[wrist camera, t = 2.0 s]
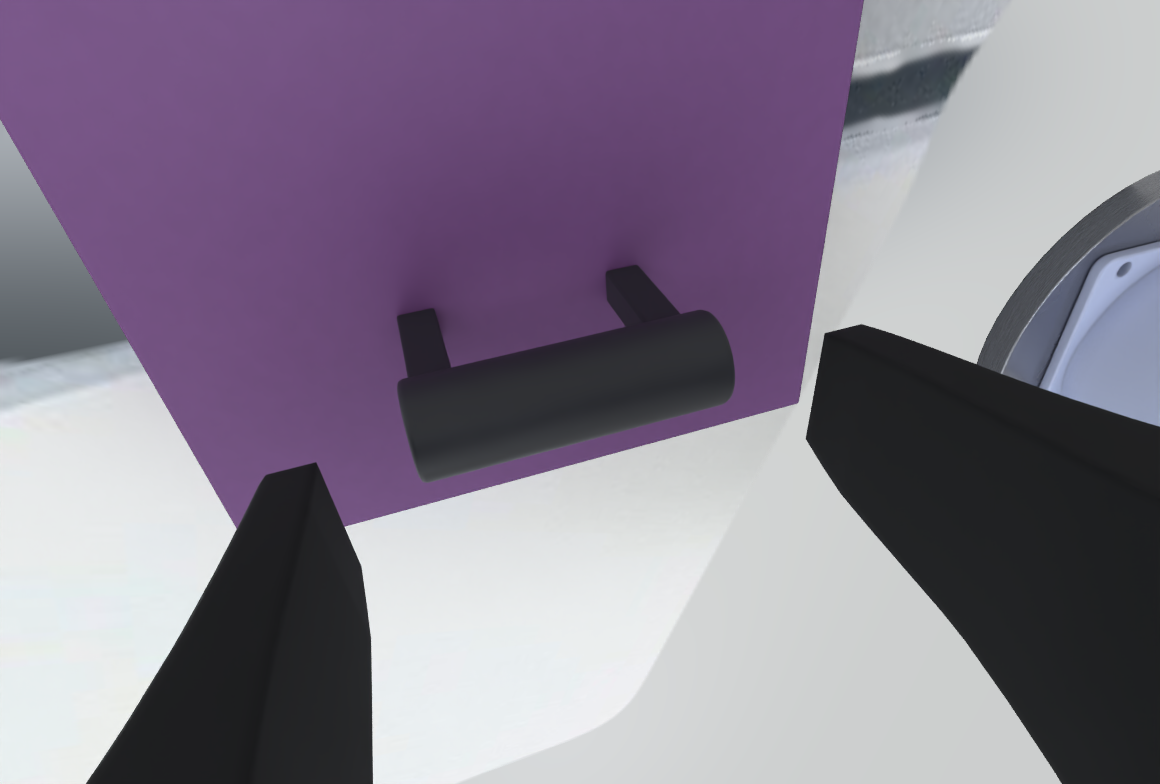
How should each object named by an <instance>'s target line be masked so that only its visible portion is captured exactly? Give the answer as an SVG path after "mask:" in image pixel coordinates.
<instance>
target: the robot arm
mask: <svg viewBox="0 0 1160 784" xmlns="http://www.w3.org/2000/svg"><path fill="white" fill-rule="evenodd" d="M806 440H807V442H808V443H809V445H810V447H811V448H812V450H813V451H814V453H815V455H816V456H817V458H818V460H819V461H820V463H821V464H822V466H823V467H824V469H825V471H826V472H827V474H828V475H829V477H830V478H831V480H832V481H833V483H834V484H835V486H836V487H837V489H838V490H839V491H840V493H841V494H842V496H843V497H844V498H845V499H846V500H847V502H848V503H849V504H850V505H851V507H852V508H853V509H854V510H855V511H856V512H857V514H858V515H859V516H860V517H861V518H862V520H863V521H864V522H865V523H866V524H867V526H868V527H869V528H870V529H871V530H872V531H873V533H874V534H875V535H876V536H877V537H878V538H879V539H880V541H881V542H882V543H883V544H884V545H885V546H886V548H887V549H888V550H889V551H890V552H891V553H892V555H893V556H894V557H895V558H896V559H897V560H898V562H899V563H900V564H901V565H902V566H903V567H904V568H905V570H906V571H907V572H908V573H909V574H910V575H911V576H912V578H913V579H914V580H915V581H916V582H917V583H918V585H919V586H920V587H921V588H922V589H923V590H924V592H925V593H926V594H927V595H928V596H929V597H930V599H931V600H932V601H933V602H934V603H935V604H936V605H937V607H938V608H939V609H940V610H941V611H942V612H943V614H944V615H945V616H946V617H947V619H948V620H949V621H950V622H951V624H952V625H953V626H954V627H955V629H956V630H957V631H958V632H959V634H960V635H961V636H962V637H963V639H964V640H965V641H966V643H967V644H968V645H969V647H970V648H971V650H972V651H973V653H974V654H975V655H976V657H977V658H978V660H979V661H980V662H981V664H982V665H983V667H984V668H985V670H986V671H987V672H988V674H989V675H990V677H991V678H992V679H993V681H994V682H995V684H996V685H997V686H998V688H999V689H1000V691H1001V692H1002V694H1003V695H1004V696H1005V698H1006V699H1007V701H1008V702H1009V704H1010V705H1011V707H1012V708H1013V710H1014V711H1015V713H1016V714H1017V716H1018V717H1019V719H1020V720H1021V722H1022V723H1023V725H1024V726H1025V728H1026V729H1027V731H1028V732H1029V734H1030V735H1031V737H1032V738H1033V740H1034V741H1035V743H1036V744H1037V746H1038V747H1039V749H1040V750H1041V752H1042V753H1043V755H1044V756H1045V758H1046V759H1047V761H1048V762H1049V764H1050V766H1051V767H1052V769H1053V770H1054V772H1055V773H1056V775H1057V777H1058V778H1059V780H1060V781H1061V783H1062V784H1160V241H1159V242H1155V243H1151V244H1147V245H1143V246H1139V247H1135V248H1131V249H1127V250H1123V251H1119V252H1115V253H1111V254H1108V255H1105V256H1103V257H1101V258H1100V259H1098V260H1097V261H1096V262H1095V263H1094V264H1093V266H1092V267H1091V269H1090V271H1089V273H1088V276H1087V278H1086V280H1085V283H1084V285H1083V287H1082V289H1081V292H1080V294H1079V296H1078V299H1077V301H1076V303H1075V306H1074V308H1073V310H1072V312H1071V315H1070V317H1069V319H1068V322H1067V324H1066V326H1065V329H1064V331H1063V333H1062V335H1061V338H1060V340H1059V342H1058V345H1057V347H1056V349H1055V352H1054V354H1053V356H1052V358H1051V361H1050V363H1049V365H1048V368H1047V370H1046V372H1045V375H1044V377H1043V379H1042V381H1041V384H1040V386H1039V387H1037V386H1034V385H1031V384H1028V383H1025V382H1023V381H1020V380H1017V379H1014V378H1012V377H1009V376H1006V375H1004V374H1001V373H998V372H995V371H993V370H990V369H987V368H985V367H982V366H979V365H977V364H974V363H971V362H969V361H966V360H963V359H961V358H958V357H955V356H952V355H950V354H947V353H944V352H942V351H939V350H936V349H934V348H931V347H928V346H926V345H923V344H920V343H917V342H915V341H912V340H909V339H906V338H903V337H901V336H897V335H895V334H892V333H888V332H886V331H882V330H879V329H876V328H873V327H869V326H866V325H856V326H852V327H849V328H845V329H841V330H837V331H833V332H829V333H825V335H824V340H823V346H822V352H821V357H820V363H819V368H818V374H817V379H816V385H815V391H814V396H813V402H812V407H811V413H810V419H809V424H808V430H807V435H806ZM86 784H373V757H372V672H371V636H370V628H369V620H368V612H367V604H366V597H365V589H364V582H363V575H362V568H361V565H360V562H359V560H358V558H357V555H356V553H355V551H354V548H353V546H352V544H351V541H350V539H349V537H348V534H347V532H346V530H345V527H344V525H343V523H342V520H341V518H340V516H339V513H338V511H337V509H336V506H335V504H334V502H333V499H332V497H331V495H330V492H329V490H328V488H327V486H326V483H325V481H324V479H323V476H322V474H321V472H320V469H319V467H318V465H317V462H315V463H311V464H307V465H303V466H299V467H295V468H291V469H287V470H283V471H279V472H275V473H271V474H267V475H265V476H264V478H263V479H262V481H261V482H260V484H259V486H258V488H257V490H256V492H255V494H254V496H253V498H252V500H251V502H250V504H249V506H248V508H247V510H246V512H245V514H244V516H243V518H242V520H241V522H240V524H239V526H238V528H237V530H236V532H235V534H234V536H233V538H232V540H231V542H230V544H229V546H228V548H227V550H226V552H225V553H224V555H223V557H222V559H221V561H220V563H219V565H218V567H217V569H216V571H215V573H214V575H213V576H212V578H211V580H210V582H209V584H208V585H207V587H206V589H205V591H204V593H203V595H202V596H201V598H200V600H199V602H198V604H197V605H196V607H195V609H194V611H193V613H192V615H191V616H190V618H189V620H188V622H187V624H186V625H185V627H184V629H183V631H182V633H181V634H180V636H179V638H178V639H177V641H176V643H175V645H174V646H173V648H172V650H171V651H170V653H169V655H168V656H167V658H166V660H165V661H164V663H163V664H162V666H161V668H160V669H159V671H158V673H157V674H156V676H155V677H154V679H153V681H152V682H151V684H150V686H149V687H148V689H147V690H146V692H145V694H144V695H143V697H142V699H141V700H140V702H139V704H138V705H137V707H136V708H135V710H134V712H133V713H132V715H131V717H130V718H129V720H128V721H127V723H126V724H125V726H124V728H123V729H122V731H121V732H120V734H119V735H118V737H117V738H116V740H115V741H114V743H113V744H112V746H111V747H110V749H109V750H108V752H107V753H106V755H105V756H104V758H103V759H102V761H101V762H100V764H99V765H98V767H97V768H96V770H95V771H94V773H93V774H92V776H91V777H90V779H89V780H88V781H87V783H86Z"/></svg>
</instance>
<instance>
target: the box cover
mask: <svg viewBox="0 0 1160 784" xmlns="http://www.w3.org/2000/svg"><path fill="white" fill-rule="evenodd" d="M863 2H864V0H0V120H1V121H2V123H3V125H4V126H5V128H6V130H7V132H8V133H9V135H10V137H11V139H12V140H13V142H14V144H15V145H16V147H17V149H18V150H19V152H20V154H21V156H22V157H23V159H24V161H25V163H26V165H27V166H28V168H29V170H30V171H31V173H32V175H33V177H34V178H35V180H36V182H37V184H38V185H39V187H40V188H41V190H42V192H43V194H44V196H45V197H46V199H47V201H48V203H49V204H50V206H51V208H52V210H53V211H54V213H55V214H56V216H57V218H58V220H59V222H60V223H61V225H62V227H63V228H64V230H65V232H66V234H67V235H68V237H69V239H70V241H71V242H72V244H73V246H74V247H75V249H76V251H77V253H78V254H79V256H80V258H81V259H82V261H83V263H84V265H85V267H86V268H87V270H88V272H89V274H90V275H91V277H92V279H93V280H94V282H95V284H96V286H97V287H98V289H99V291H100V293H101V294H102V296H103V298H104V299H105V301H106V303H107V305H108V306H109V308H110V310H111V312H112V313H113V315H114V317H115V319H116V320H117V322H118V324H119V325H120V327H121V329H122V331H123V332H124V334H125V336H126V338H127V339H128V341H129V343H130V345H131V346H132V348H133V350H134V351H135V353H136V355H137V357H138V358H139V360H140V362H141V364H142V365H143V367H144V369H145V371H146V372H147V374H148V376H149V377H150V379H151V381H152V383H153V384H154V386H155V388H156V390H157V391H158V393H159V395H160V397H161V398H162V400H163V402H164V403H165V405H166V407H167V409H168V410H169V412H170V414H171V416H172V417H173V419H174V421H175V422H176V424H177V426H178V428H179V429H180V431H181V433H182V435H183V436H184V438H185V440H186V442H187V443H188V445H189V447H190V448H191V450H192V452H193V454H194V455H195V457H196V459H197V461H198V462H199V464H200V466H201V467H202V469H203V471H204V473H205V474H206V476H207V478H208V480H209V481H210V483H211V485H212V487H213V488H214V490H215V492H216V493H217V495H218V497H219V499H220V500H221V502H222V504H223V506H224V507H225V509H226V511H227V512H228V514H229V516H230V518H231V519H232V521H233V523H234V525H235V526H236V528H238V526H239V524H240V522H241V520H242V518H243V516H244V514H245V512H246V510H247V508H248V506H249V504H250V502H251V500H252V498H253V496H254V494H255V492H256V490H257V488H258V486H259V484H260V482H261V481H262V479H263V478H264V476H265V475H267V474H271V473H275V472H279V471H283V470H287V469H291V468H295V467H299V466H303V465H307V464H311V463H315V462H317V465H318V467H319V469H320V472H321V474H322V476H323V479H324V481H325V483H326V486H327V488H328V490H329V492H330V495H331V497H332V499H333V502H334V504H335V506H336V509H337V511H338V513H339V516H340V518H341V520H342V523H343V525H344V527H345V526H348V525H352V524H356V523H359V522H363V521H367V520H371V519H374V518H378V517H382V516H385V515H389V514H393V513H396V512H400V511H404V510H407V509H411V508H415V507H418V506H422V505H426V504H429V503H433V502H437V501H440V500H444V499H448V498H451V497H455V496H459V495H462V494H466V493H470V492H473V491H477V490H481V489H484V488H488V487H492V486H495V485H499V484H503V483H506V482H510V481H514V480H518V479H521V478H525V477H529V476H532V475H536V474H540V473H543V472H547V471H551V470H554V469H558V468H562V467H565V466H569V465H573V464H576V463H580V462H584V461H587V460H591V459H595V458H598V457H602V456H606V455H609V454H613V453H617V452H620V451H624V450H628V449H631V448H635V447H639V446H642V445H646V444H650V443H654V442H657V441H661V440H665V439H668V438H672V437H676V436H679V435H683V434H687V433H690V432H694V431H698V430H701V429H705V428H709V427H712V426H716V425H720V424H723V423H727V422H731V421H734V420H738V419H742V418H745V417H749V416H753V415H756V414H760V413H764V412H767V411H771V410H775V409H778V408H782V407H786V406H789V405H793V404H797V403H798V402H799V397H800V390H801V384H802V378H803V372H804V366H805V360H806V354H807V347H808V341H809V335H810V329H811V323H812V317H813V310H814V304H815V298H816V292H817V286H818V280H819V273H820V267H821V261H822V255H823V249H824V243H825V236H826V230H827V224H828V218H829V212H830V206H831V199H832V193H833V187H834V181H835V175H836V169H837V163H838V156H839V150H840V144H841V138H842V132H843V126H844V119H845V113H846V107H847V101H848V95H849V89H850V82H851V76H852V70H853V64H854V58H855V52H856V45H857V39H858V33H859V27H860V21H861V15H862V8H863Z"/></svg>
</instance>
